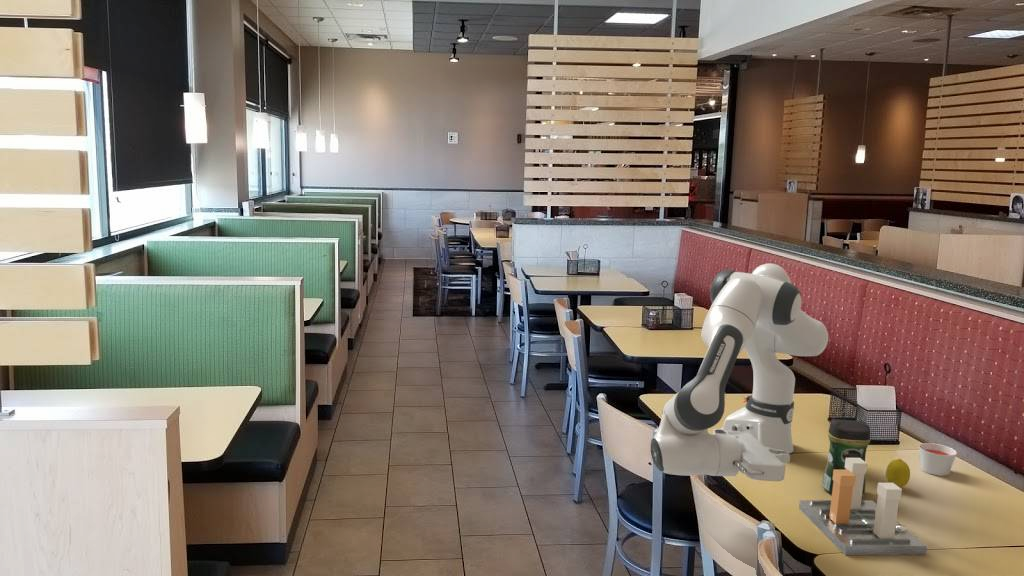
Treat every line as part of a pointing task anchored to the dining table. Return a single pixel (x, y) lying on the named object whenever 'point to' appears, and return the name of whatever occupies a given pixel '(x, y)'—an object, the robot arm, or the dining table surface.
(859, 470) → the cream knob left
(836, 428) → the coffee jar
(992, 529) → the dining table surface
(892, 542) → the console
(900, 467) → the lemon
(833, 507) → the tan tall block
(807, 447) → the dining table surface
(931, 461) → the white ramekin
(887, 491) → the cream knob right
